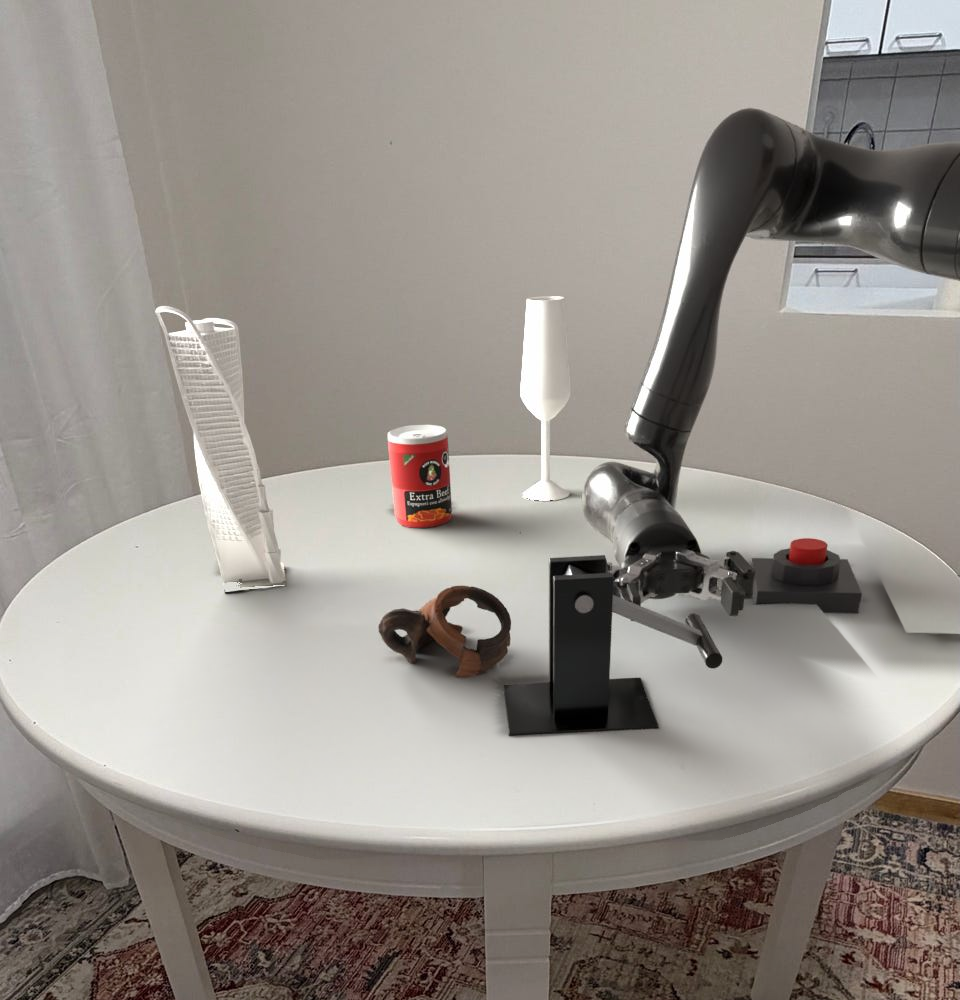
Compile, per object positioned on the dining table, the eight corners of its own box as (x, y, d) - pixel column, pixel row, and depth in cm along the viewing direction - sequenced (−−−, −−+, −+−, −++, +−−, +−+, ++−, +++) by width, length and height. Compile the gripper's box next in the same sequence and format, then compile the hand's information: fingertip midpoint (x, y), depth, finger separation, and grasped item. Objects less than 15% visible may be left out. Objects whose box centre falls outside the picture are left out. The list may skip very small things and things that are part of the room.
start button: (822, 555, 99) (825, 538, 98) (826, 567, 96) (829, 549, 95) (786, 554, 99) (789, 537, 98) (789, 566, 96) (792, 549, 95)
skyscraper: (211, 594, 107) (150, 311, 91) (212, 571, 114) (156, 302, 97) (286, 586, 109) (239, 304, 92) (283, 563, 115) (239, 296, 99)
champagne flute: (512, 495, 134) (507, 300, 120) (545, 485, 138) (544, 294, 124) (546, 503, 130) (546, 302, 116) (579, 493, 134) (583, 296, 120)
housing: (844, 579, 103) (851, 542, 101) (858, 614, 95) (865, 575, 93) (749, 577, 105) (753, 541, 102) (754, 612, 97) (760, 573, 94)
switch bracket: (639, 689, 84) (648, 544, 76) (658, 739, 76) (669, 584, 69) (503, 696, 84) (499, 551, 76) (509, 746, 76) (504, 592, 69)
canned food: (407, 532, 123) (399, 441, 116) (386, 516, 129) (378, 429, 122) (462, 522, 125) (457, 433, 119) (439, 507, 131) (433, 421, 125)
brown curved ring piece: (481, 639, 95) (509, 579, 88) (498, 715, 91) (529, 658, 84) (364, 628, 91) (384, 564, 84) (376, 707, 86) (398, 646, 80)
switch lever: (692, 636, 80) (706, 610, 79) (713, 677, 74) (729, 650, 73) (552, 579, 77) (565, 552, 76) (561, 617, 71) (575, 588, 69)
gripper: (583, 512, 93) (605, 569, 80) (729, 505, 93) (775, 560, 80) (581, 587, 97) (602, 653, 84) (721, 580, 97) (763, 645, 84)
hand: (686, 608), depth 82 cm, fingers open, 8 cm apart
